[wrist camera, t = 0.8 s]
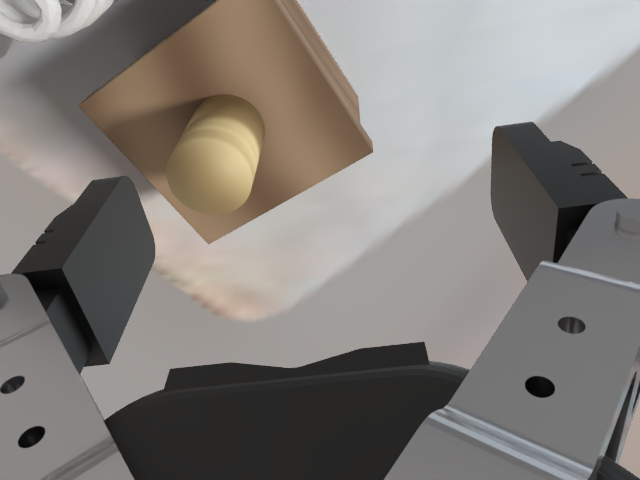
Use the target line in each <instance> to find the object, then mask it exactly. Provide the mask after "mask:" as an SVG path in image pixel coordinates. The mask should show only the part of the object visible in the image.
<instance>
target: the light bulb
mask: <svg viewBox="0 0 640 480" xmlns="http://www.w3.org/2000/svg"><path fill="white" fill-rule="evenodd" d="M66 1H68V2H70V3H73V5H64V4H60V2H59V0H0V33H2V34H3V35H6V36H8V37H11V38H13V39H16V40H19V41H22V42H29V43H35V42H40V41H43V40H46V39H49V38H62V37H66V36H69V35H72V34H74V33H75V32H77V31H79V30H81V29H84V28H86V27H88V26H90V25H91V24H92V23H93V22H95V21H96V20H97V19H98V18H99V17H100V16H101V15H102V14H103V13H104V12H105V11H106V10H107V9H108V8H109V7H110V6H111V4H112V3H114V2H116V1H118V0H66Z"/></svg>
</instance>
